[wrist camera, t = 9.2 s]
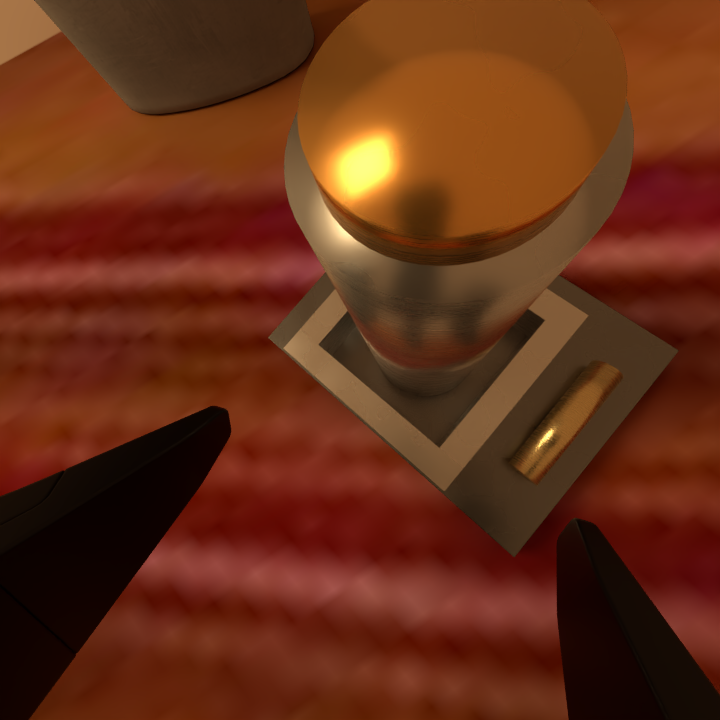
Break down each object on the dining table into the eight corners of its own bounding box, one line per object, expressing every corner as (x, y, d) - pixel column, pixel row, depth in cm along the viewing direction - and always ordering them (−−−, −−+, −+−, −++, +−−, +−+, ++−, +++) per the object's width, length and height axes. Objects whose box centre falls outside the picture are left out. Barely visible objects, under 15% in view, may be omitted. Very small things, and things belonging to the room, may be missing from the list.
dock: (663, 355, 17) (726, 335, 13) (508, 549, 16) (532, 580, 13) (407, 191, 21) (405, 144, 17) (275, 342, 20) (246, 324, 17)
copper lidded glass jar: (494, 368, 17) (785, 135, 4) (402, 412, 17) (353, 349, 4) (446, 285, 18) (525, -119, 5) (360, 327, 18) (214, 57, 5)
